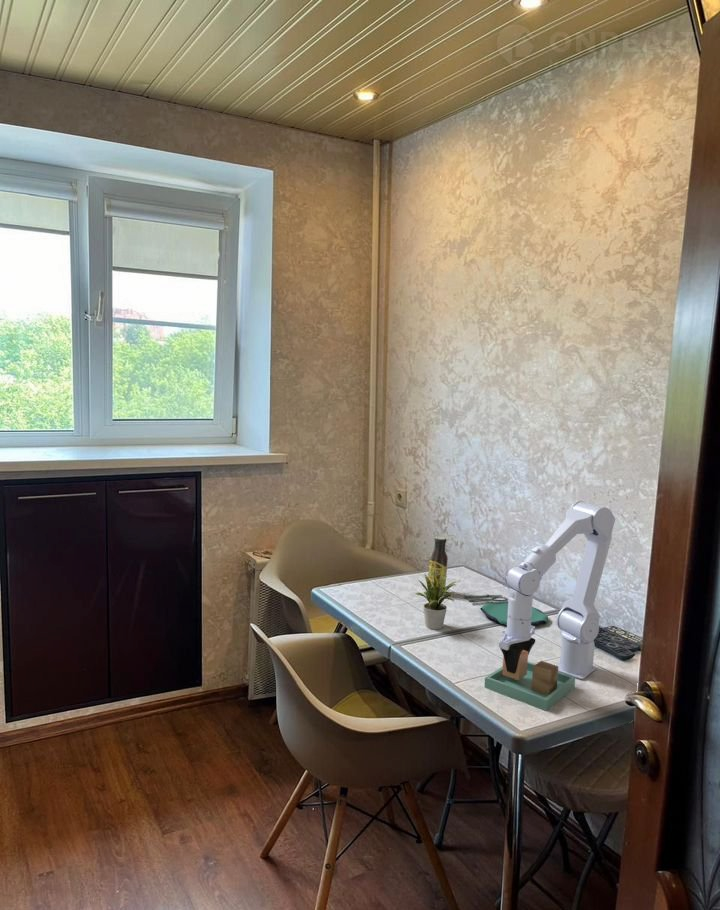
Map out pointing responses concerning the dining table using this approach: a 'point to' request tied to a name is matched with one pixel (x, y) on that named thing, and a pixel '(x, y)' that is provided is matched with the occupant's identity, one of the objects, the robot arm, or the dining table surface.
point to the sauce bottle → (438, 561)
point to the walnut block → (544, 678)
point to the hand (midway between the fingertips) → (515, 668)
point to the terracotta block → (518, 667)
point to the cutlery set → (504, 609)
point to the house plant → (435, 602)
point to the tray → (528, 687)
